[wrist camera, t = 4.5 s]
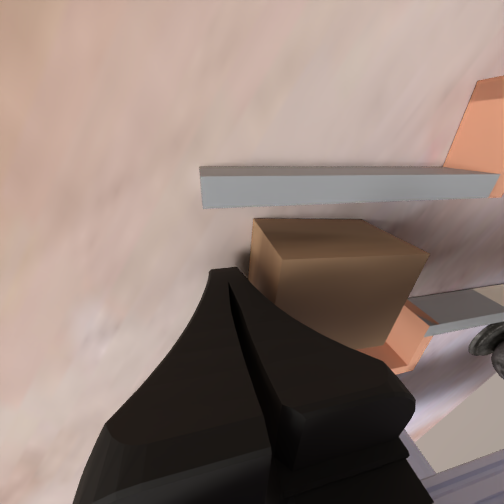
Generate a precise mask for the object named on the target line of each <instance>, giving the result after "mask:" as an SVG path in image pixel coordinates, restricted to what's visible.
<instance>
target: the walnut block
mask: <svg viewBox="0 0 504 504" xmlns="http://www.w3.org/2000/svg"><path fill="white" fill-rule="evenodd" d="M429 255H430V254H429V253H427V252H425V251H423V250H421V249H419V248H417V247H415V246H413V245H411V244H409V243H407V242H405V241H403V240H401V239H399V238H397V237H395V236H393V235H391V234H389V233H387V232H385V231H383V230H381V229H379V228H377V227H376V226H374V225H372V224H370V223H368V222H366V221H364V220H362V219H253V229H252V240H251V251H250V262H249V273H248V280H249V281H250V282H251V283H252V284H253V285H254V286H255V287H256V288H257V289H258V290H259V291H260V292H261V293H262V294H263V295H264V296H265V297H266V298H268V299H269V300H270V301H271V302H272V303H274V304H275V305H276V306H277V307H279V308H280V309H281V310H283V311H284V312H286V313H287V314H289V315H290V316H291V317H293V318H294V319H296V320H298V321H299V322H301V323H303V324H304V325H306V326H308V327H310V328H311V329H313V330H315V331H317V332H318V333H320V334H322V335H324V336H326V337H328V338H330V339H332V340H334V341H337V342H339V343H341V344H343V345H345V346H347V347H349V348H352V349H354V350H356V349H363V348H369V347H376V346H382V345H384V343H385V341H386V339H387V337H388V335H389V333H390V332H391V330H392V328H393V326H394V324H395V322H396V320H397V318H398V316H399V314H400V312H401V310H402V308H403V306H404V304H405V302H406V300H407V298H408V296H409V294H410V292H411V290H412V288H413V287H414V285H415V283H416V281H417V279H418V277H419V275H420V273H421V271H422V269H423V267H424V265H425V263H426V261H427V259H428V257H429Z"/></svg>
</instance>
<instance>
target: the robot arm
mask: <svg viewBox="0 0 504 504" xmlns="http://www.w3.org/2000/svg"><path fill="white" fill-rule="evenodd" d="M415 401H416V400H415V398H414V397H413V395H412V394H411V393H410V392H409V390H408V389H407V388H406V387H405V386H404V384H403V383H402V382H401V381H400V380H399V378H398V377H397V376H396V375H395V374H394V372H393V371H392V370H391V369H390V368H389V367H388V366H387V365H386V364H385V363H384V361H382V360H379V359H377V358H374V357H372V356H369V355H367V354H364V353H362V352H359V351H357V350H354V349H352V348H349V347H347V346H345V345H343V344H341V343H339V342H337V341H334V340H332V339H330V338H328V337H326V336H324V335H322V334H320V333H318V332H317V331H315V330H313V329H311V328H310V327H308V326H306V325H304V324H303V323H301V322H299V321H298V320H296V319H294V318H293V317H291V316H290V315H289V314H287V313H286V312H284V311H283V310H281V309H280V308H279V307H277V306H276V305H275V304H274V303H272V302H271V301H270V300H269V299H268V298H266V297H265V296H264V295H263V294H262V293H261V292H260V291H259V290H258V289H257V288H256V287H255V286H254V285H253V284H252V283H251V282H250V281H249V280H248V279H247V278H246V277H245V276H244V275H243V273H242V272H241V271H240V270H239V269H238V268H237V267H231V268H221V269H211V270H210V271H209V277H208V281H207V285H206V288H205V290H204V293H203V295H202V298H201V300H200V302H199V304H198V306H197V308H196V311H195V313H194V314H193V316H192V318H191V320H190V322H189V323H188V325H187V327H186V328H185V330H184V331H183V333H182V334H181V336H180V337H179V339H178V340H177V342H176V343H175V345H174V346H173V347H172V349H171V350H170V351H169V353H168V354H167V355H166V357H165V358H164V359H163V360H162V362H161V363H160V364H159V365H158V366H157V368H156V369H155V370H154V371H153V372H152V374H151V375H150V376H149V377H148V378H147V380H146V381H145V382H144V383H143V384H142V385H141V386H140V388H139V389H138V390H137V391H136V392H135V393H134V394H133V395H132V396H131V397H130V398H129V399H128V400H127V401H126V402H125V403H124V404H123V405H122V406H121V408H120V409H119V410H118V411H117V412H116V413H115V414H114V415H113V416H112V417H111V418H110V419H109V420H108V421H107V422H106V423H105V425H104V427H103V429H102V431H101V433H100V435H99V437H98V439H97V441H96V443H95V445H94V448H93V450H92V452H91V455H90V457H89V459H88V461H87V464H86V466H85V468H84V471H83V474H82V476H81V479H80V482H79V485H78V488H77V491H76V495H75V498H74V501H73V504H504V449H502V450H499V451H497V452H494V453H492V454H489V455H486V456H483V457H480V458H478V459H475V460H472V461H470V462H467V463H464V464H462V465H459V466H456V467H453V468H451V469H448V470H445V471H443V472H440V473H437V474H436V472H435V471H434V470H433V468H432V467H431V465H430V464H429V463H428V461H427V460H426V458H425V457H424V456H423V454H422V453H421V451H420V450H419V449H418V447H417V446H416V444H415V443H414V442H413V440H412V439H411V437H410V436H409V435H408V433H407V432H406V430H405V429H404V428H405V427H406V425H407V424H408V422H409V421H410V419H411V418H412V416H413V414H414V412H415Z"/></svg>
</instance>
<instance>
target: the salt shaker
mask: <svg viewBox="0 0 504 504" xmlns="http://www.w3.org/2000/svg"><path fill="white" fill-rule="evenodd" d="M469 352H470V353H471V354H472V355H476V356H477V355H488V354H491V353H493V354H492V356H491V360H492V364H493V367H494V369H495V370H496V371H497V373H498V374H499V376H500V377H501V378H503V379H504V321H503V322H498V323H493V324H490V325H488V326H487V327H486V328H484V329H483V330H482V331H481V332H480V333H479V334H478V335H477V336H476V337H475V338H474V339H473V340H472V342H471V344H470V346H469Z"/></svg>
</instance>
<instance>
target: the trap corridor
mask: <svg viewBox="0 0 504 504" xmlns="http://www.w3.org/2000/svg"><path fill="white" fill-rule="evenodd" d="M199 170H200V183H201V194H202V204H203V209H208V208H235V207H261V206H287V205H313V204H340V203H366V202H392V201H418V200H444V199H471V198H497V197H502V195H503V193H504V76H499V77H494V78H489V79H484V80H479V81H478V82H477V84H476V87H475V89H474V91H473V94H472V96H471V99H470V101H469V104H468V106H467V109H466V111H465V114H464V116H463V119H462V121H461V124H460V126H459V128H458V131H457V133H456V136H455V138H454V141H453V143H452V146H451V148H450V151H449V153H448V156H447V158H446V161H445V163H444V165H443V167H199ZM503 321H504V284H501V285H494V286H487V287H481V288H474V289H468V290H461V291H454V292H448V293H441V294H435V295H428V296H422V297H415V298H408V299H407V300H406V302H405V304H404V306H403V308H402V310H401V312H400V314H399V316H398V318H397V320H396V322H395V324H394V326H393V328H392V330H391V332H390V333H389V335H388V337H387V339H386V341H385V343H384V345H382V346H376V347H369V348H363V349H356V350H357V351H359V352H362V353H364V354H367V355H369V356H372V357H374V358H377V359H379V360H382V361H384V363H385V364H386V365H387V366H388V367H389V368H390V369H391V370H392V371H393V372H394V374H395V375H396V374H400V373H404V372H409V371H413V370H414V368H415V366H416V364H417V363H418V361H419V359H420V358H421V356H422V354H423V352H424V351H425V349H426V347H427V346H428V344H429V342H430V340H431V339H432V337H433V335H438V334H443V333H448V332H453V331H458V330H463V329H468V328H473V327H478V326H483V325H488V324H493V323H498V322H503Z"/></svg>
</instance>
